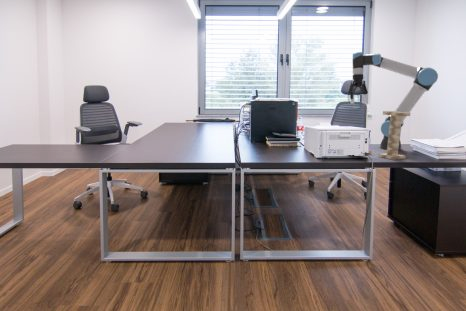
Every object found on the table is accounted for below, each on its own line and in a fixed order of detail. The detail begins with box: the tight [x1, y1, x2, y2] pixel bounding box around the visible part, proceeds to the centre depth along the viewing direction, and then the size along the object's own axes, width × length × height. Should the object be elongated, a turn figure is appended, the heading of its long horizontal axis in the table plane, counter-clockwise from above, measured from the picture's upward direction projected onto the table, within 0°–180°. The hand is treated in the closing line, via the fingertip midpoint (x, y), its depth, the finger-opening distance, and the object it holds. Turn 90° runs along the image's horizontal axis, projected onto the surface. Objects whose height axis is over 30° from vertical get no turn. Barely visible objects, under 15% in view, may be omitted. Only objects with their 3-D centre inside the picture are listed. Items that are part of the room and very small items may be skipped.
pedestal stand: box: [378, 110, 411, 161], centre depth 275 cm, size 12×12×30 cm
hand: (358, 103), depth 310 cm, fingers open, 13 cm apart
